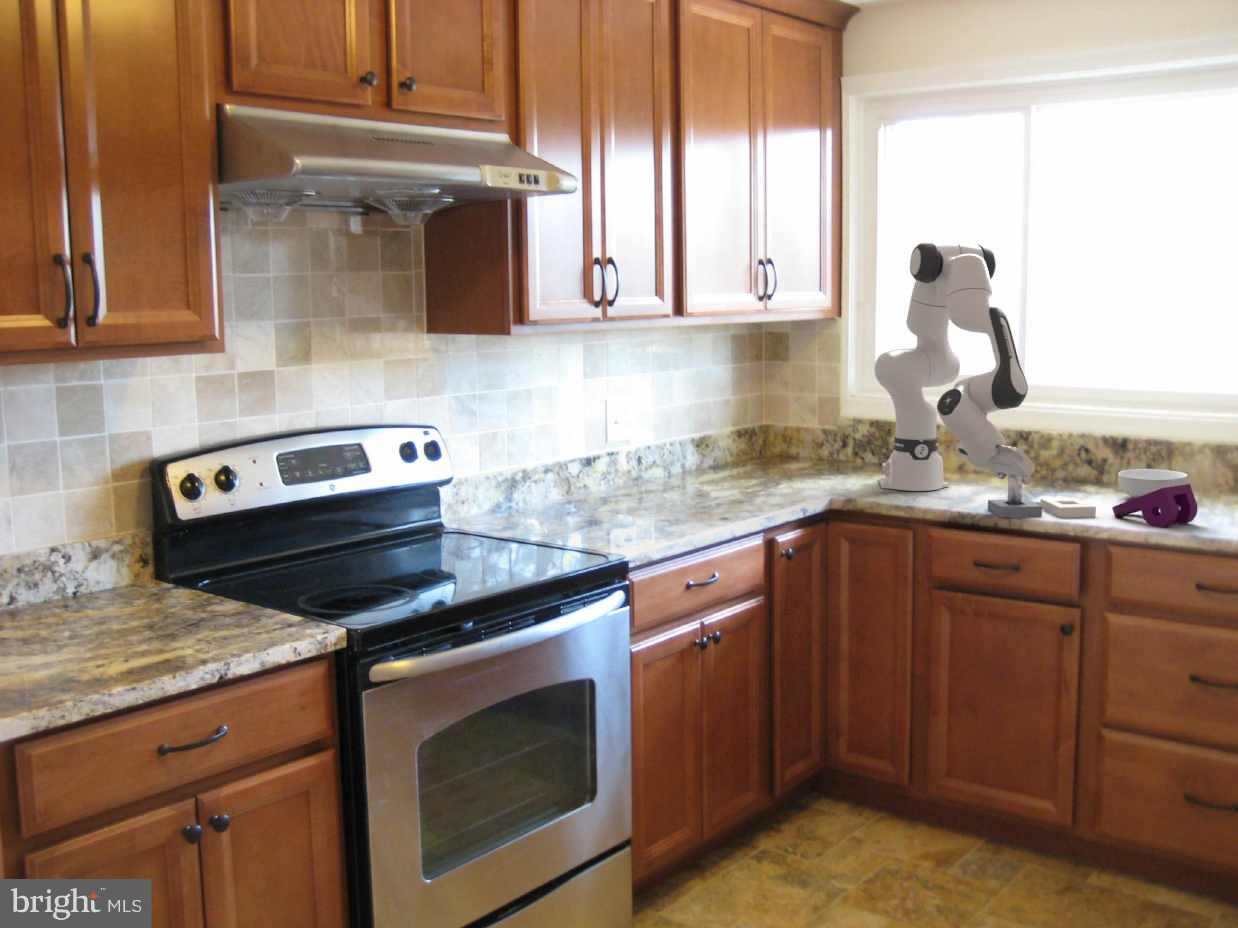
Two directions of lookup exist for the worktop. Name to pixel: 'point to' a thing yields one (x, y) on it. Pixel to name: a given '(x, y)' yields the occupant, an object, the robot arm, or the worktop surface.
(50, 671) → the worktop surface
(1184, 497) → the mounting bracket
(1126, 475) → the cereal bowl
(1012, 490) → the capped cylinder peg
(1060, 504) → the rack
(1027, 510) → the socket
